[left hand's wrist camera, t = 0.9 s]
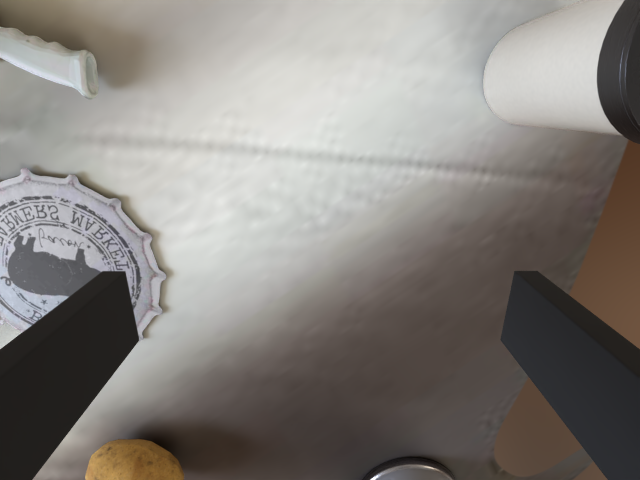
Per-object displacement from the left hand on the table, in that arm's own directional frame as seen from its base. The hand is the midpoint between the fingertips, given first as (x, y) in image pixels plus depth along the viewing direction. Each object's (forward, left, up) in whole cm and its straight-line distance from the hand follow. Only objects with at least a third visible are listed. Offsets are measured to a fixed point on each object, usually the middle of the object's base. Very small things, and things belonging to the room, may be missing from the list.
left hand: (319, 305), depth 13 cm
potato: (-40, +25, -28) cm, 55 cm away
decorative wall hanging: (-15, +31, -28) cm, 44 cm away
